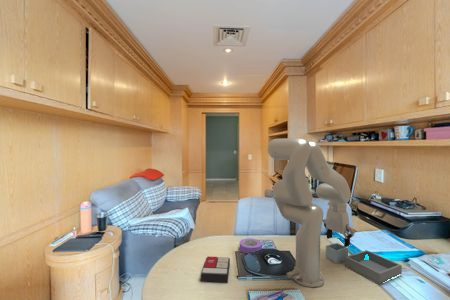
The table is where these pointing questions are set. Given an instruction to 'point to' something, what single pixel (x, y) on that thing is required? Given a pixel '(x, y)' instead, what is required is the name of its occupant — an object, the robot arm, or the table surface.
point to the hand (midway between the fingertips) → (337, 241)
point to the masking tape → (250, 245)
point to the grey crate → (373, 266)
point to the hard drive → (334, 241)
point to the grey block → (336, 252)
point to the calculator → (215, 270)
